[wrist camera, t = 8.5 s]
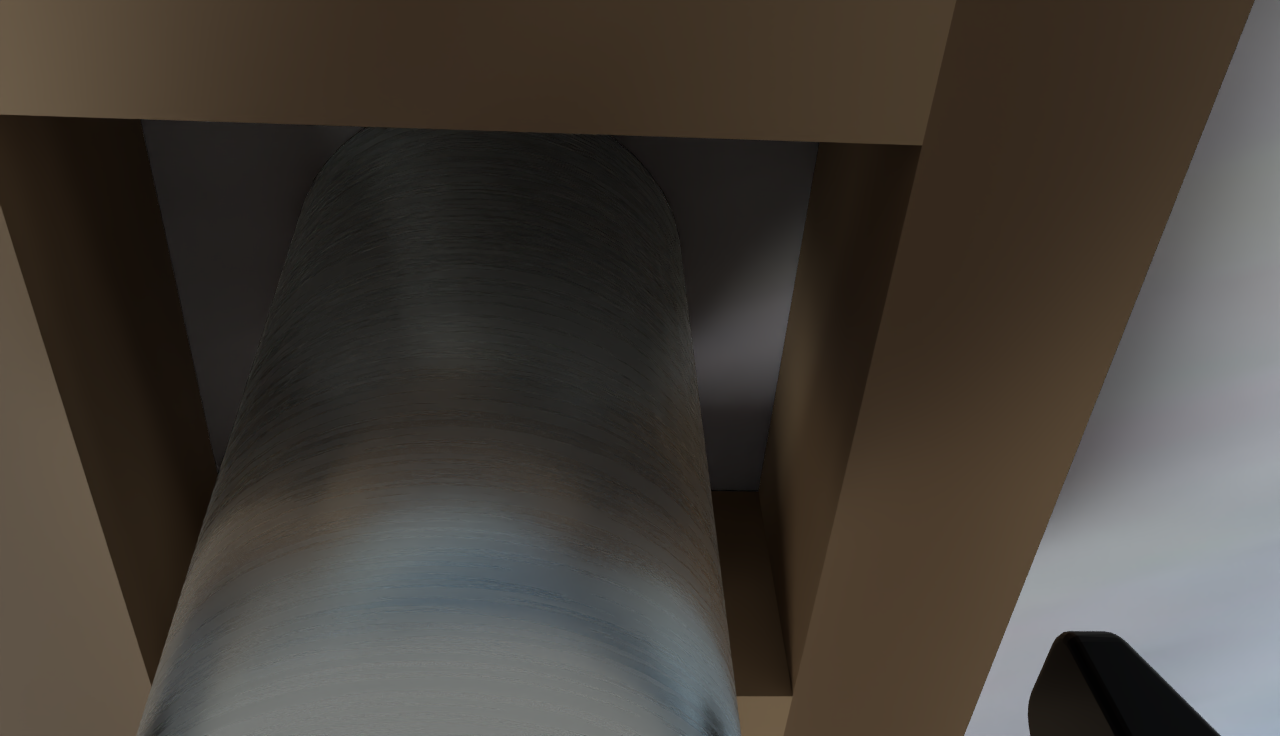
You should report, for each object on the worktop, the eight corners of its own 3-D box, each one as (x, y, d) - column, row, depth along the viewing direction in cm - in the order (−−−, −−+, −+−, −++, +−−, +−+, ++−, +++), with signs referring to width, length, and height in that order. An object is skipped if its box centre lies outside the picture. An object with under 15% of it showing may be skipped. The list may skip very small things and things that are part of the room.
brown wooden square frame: (1134, -251, 10) (1306, -132, 8) (886, 598, 17) (938, 799, 14) (-234, -331, 9) (-506, -226, 7) (84, 593, 16) (2, 807, 13)
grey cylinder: (698, 103, 12) (943, 1531, 4) (665, 415, 14) (779, 1659, 7) (272, 87, 11) (-341, 1599, 4) (316, 409, 14) (6, 1703, 6)
